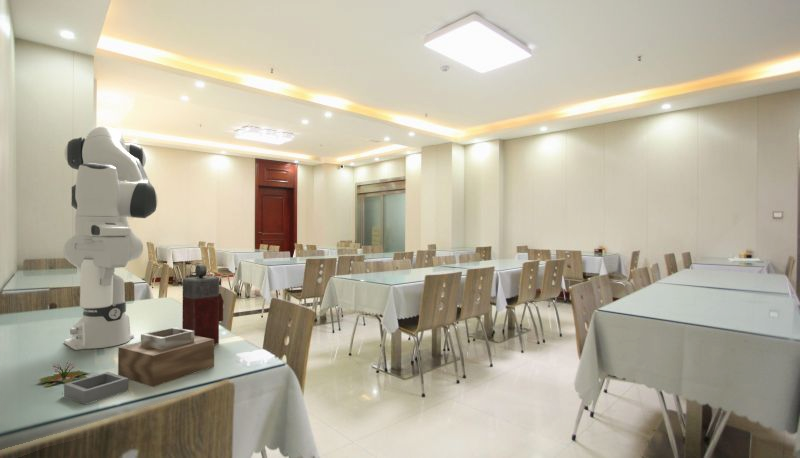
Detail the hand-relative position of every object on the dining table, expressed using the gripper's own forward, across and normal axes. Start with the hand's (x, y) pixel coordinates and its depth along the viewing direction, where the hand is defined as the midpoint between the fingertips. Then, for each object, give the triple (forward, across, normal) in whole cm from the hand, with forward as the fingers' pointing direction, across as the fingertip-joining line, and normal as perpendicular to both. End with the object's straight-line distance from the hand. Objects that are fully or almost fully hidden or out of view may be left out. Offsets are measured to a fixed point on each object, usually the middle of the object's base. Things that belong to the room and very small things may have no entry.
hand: (97, 284), depth 101 cm
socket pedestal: (+27, 0, +18) cm, 32 cm away
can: (+6, 0, 0) cm, 6 cm away
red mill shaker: (+27, -17, +42) cm, 53 cm away
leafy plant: (+28, -19, +1) cm, 33 cm away
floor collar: (+27, 0, 0) cm, 27 cm away
